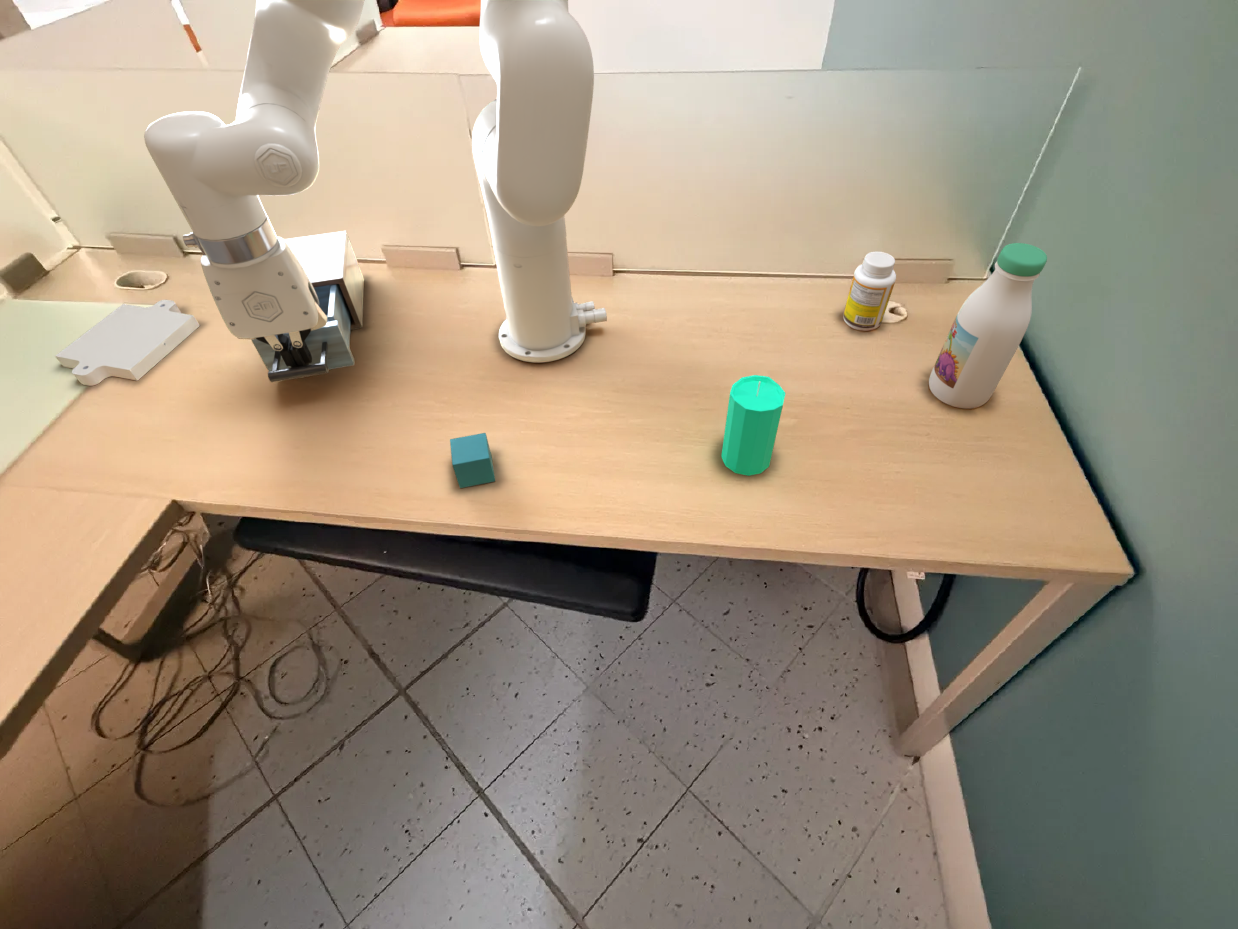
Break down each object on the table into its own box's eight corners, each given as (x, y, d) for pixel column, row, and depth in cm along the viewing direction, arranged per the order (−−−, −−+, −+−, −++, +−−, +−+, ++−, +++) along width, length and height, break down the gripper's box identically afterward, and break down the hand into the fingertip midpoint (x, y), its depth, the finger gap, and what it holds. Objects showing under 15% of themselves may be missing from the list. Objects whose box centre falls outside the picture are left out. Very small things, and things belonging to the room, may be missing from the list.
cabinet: (362, 328, 98) (342, 278, 91) (278, 341, 96) (252, 291, 90) (364, 279, 107) (346, 230, 100) (287, 290, 105) (263, 241, 98)
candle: (739, 482, 76) (752, 408, 67) (711, 449, 80) (720, 374, 71) (781, 464, 78) (799, 389, 69) (752, 432, 81) (766, 357, 72)
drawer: (353, 393, 87) (335, 352, 82) (267, 407, 85) (244, 367, 80) (356, 313, 99) (341, 274, 94) (281, 325, 97) (262, 285, 92)
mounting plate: (124, 392, 89) (115, 381, 88) (49, 377, 92) (39, 367, 90) (210, 316, 101) (204, 305, 99) (142, 304, 103) (135, 294, 102)
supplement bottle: (864, 306, 98) (883, 244, 91) (889, 326, 95) (910, 263, 87) (834, 315, 97) (850, 253, 89) (857, 336, 93) (876, 273, 86)
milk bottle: (991, 379, 87) (1065, 242, 72) (987, 417, 82) (1064, 278, 67) (931, 365, 89) (990, 228, 74) (923, 400, 84) (984, 262, 69)
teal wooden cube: (491, 456, 80) (485, 432, 77) (495, 481, 77) (489, 457, 74) (457, 462, 79) (449, 438, 76) (459, 488, 77) (452, 464, 73)
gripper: (158, 266, 68) (238, 396, 82) (306, 246, 70) (360, 375, 84) (173, 231, 73) (246, 359, 87) (311, 213, 75) (361, 340, 89)
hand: (302, 367), depth 86 cm, fingers closed
